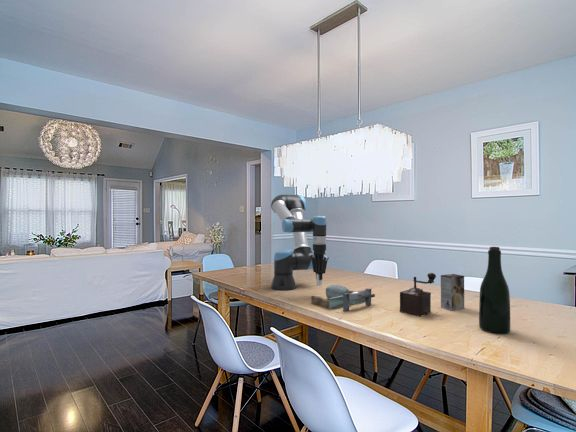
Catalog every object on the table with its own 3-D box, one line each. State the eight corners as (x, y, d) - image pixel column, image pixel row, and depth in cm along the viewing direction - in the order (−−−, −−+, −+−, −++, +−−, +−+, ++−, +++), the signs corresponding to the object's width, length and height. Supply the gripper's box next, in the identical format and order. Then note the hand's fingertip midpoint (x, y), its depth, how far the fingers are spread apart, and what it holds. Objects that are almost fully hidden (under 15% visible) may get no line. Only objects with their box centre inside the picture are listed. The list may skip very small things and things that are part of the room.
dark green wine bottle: (515, 331, 126) (515, 247, 126) (502, 336, 120) (502, 248, 120) (487, 323, 135) (487, 245, 135) (473, 328, 129) (474, 246, 129)
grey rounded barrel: (356, 295, 170) (347, 279, 168) (347, 306, 163) (338, 290, 162) (336, 296, 180) (328, 281, 178) (328, 307, 173) (319, 292, 172)
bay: (311, 302, 167) (311, 293, 167) (345, 295, 182) (345, 286, 182) (330, 309, 155) (330, 298, 155) (365, 300, 170) (365, 291, 170)
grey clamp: (342, 309, 154) (342, 293, 154) (370, 302, 167) (370, 287, 167) (347, 311, 151) (347, 294, 151) (376, 304, 164) (376, 288, 164)
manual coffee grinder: (421, 317, 143) (421, 276, 143) (399, 311, 152) (399, 273, 152) (437, 310, 153) (438, 272, 153) (415, 305, 162) (416, 269, 162)
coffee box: (453, 305, 163) (453, 273, 162) (464, 308, 157) (464, 275, 157) (440, 307, 159) (440, 274, 159) (451, 311, 153) (451, 277, 153)
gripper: (306, 242, 184) (306, 284, 184) (322, 245, 173) (322, 288, 174) (316, 242, 188) (316, 282, 189) (332, 244, 178) (332, 286, 178)
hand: (319, 285), depth 181 cm, fingers closed
